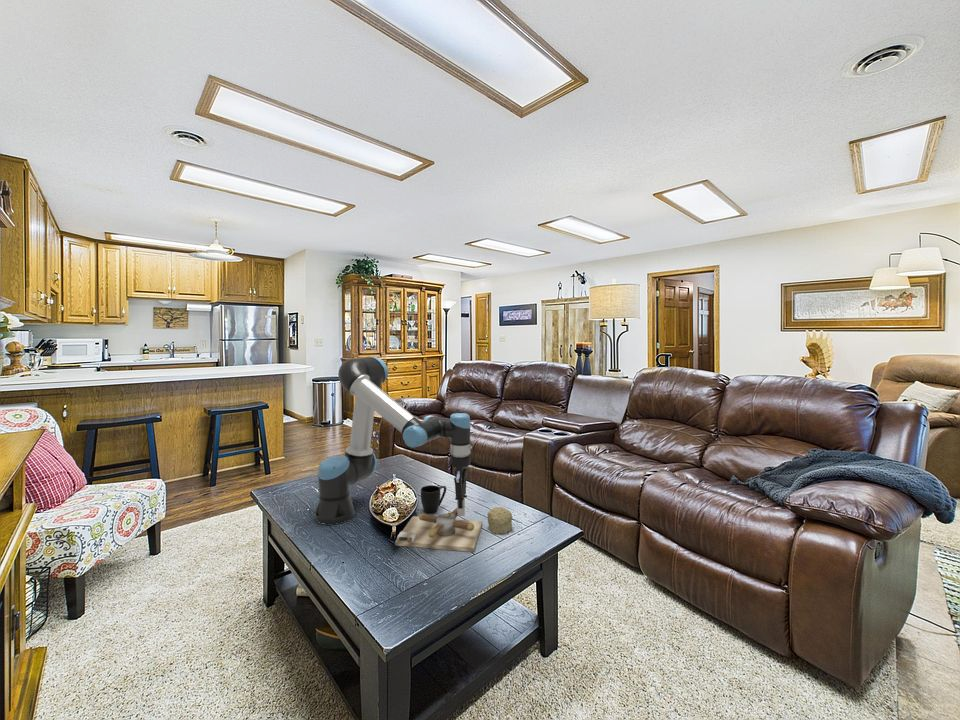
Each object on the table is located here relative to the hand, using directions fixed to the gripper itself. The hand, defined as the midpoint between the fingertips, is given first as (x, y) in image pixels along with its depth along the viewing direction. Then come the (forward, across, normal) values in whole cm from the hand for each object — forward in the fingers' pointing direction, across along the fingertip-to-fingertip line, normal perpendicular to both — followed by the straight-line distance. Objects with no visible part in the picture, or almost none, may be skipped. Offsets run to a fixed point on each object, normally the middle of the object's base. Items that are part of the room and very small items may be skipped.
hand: (461, 515), depth 157 cm
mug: (+5, +14, +14) cm, 21 cm away
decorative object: (+6, +2, -14) cm, 16 cm away
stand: (+5, -6, +6) cm, 10 cm away
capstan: (+3, -7, +4) cm, 9 cm away
